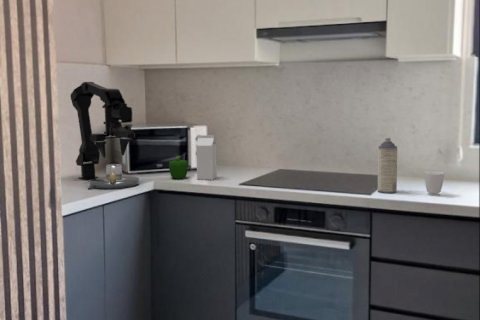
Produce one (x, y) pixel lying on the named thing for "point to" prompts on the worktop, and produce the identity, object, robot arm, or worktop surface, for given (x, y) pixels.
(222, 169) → the worktop surface
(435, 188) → the cup
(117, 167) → the cover
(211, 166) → the milk carton
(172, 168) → the bell pepper
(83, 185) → the worktop surface
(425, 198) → the worktop surface
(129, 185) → the turntable
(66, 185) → the worktop surface
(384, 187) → the aerosol can
